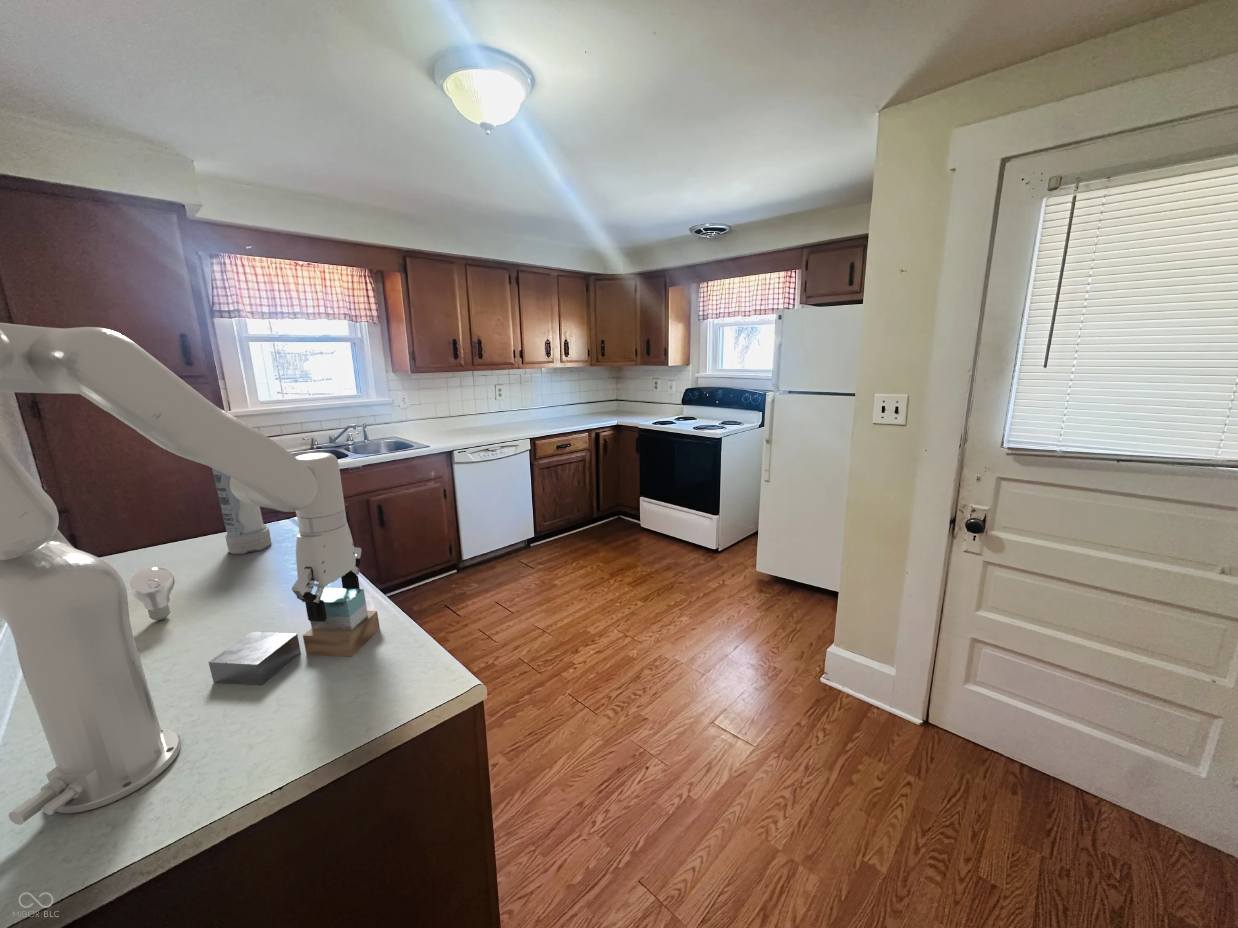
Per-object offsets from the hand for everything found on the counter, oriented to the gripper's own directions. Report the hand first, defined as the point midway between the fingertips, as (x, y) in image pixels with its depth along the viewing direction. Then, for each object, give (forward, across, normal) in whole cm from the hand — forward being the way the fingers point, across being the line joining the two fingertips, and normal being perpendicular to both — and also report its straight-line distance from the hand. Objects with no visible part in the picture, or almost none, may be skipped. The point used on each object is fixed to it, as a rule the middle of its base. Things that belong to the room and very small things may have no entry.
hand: (335, 606), depth 91 cm
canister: (+7, -42, -57) cm, 71 cm away
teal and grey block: (+4, 0, 0) cm, 4 cm away
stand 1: (+8, +8, -10) cm, 15 cm away
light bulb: (+8, -5, -44) cm, 45 cm away
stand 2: (+8, -1, 0) cm, 8 cm away
